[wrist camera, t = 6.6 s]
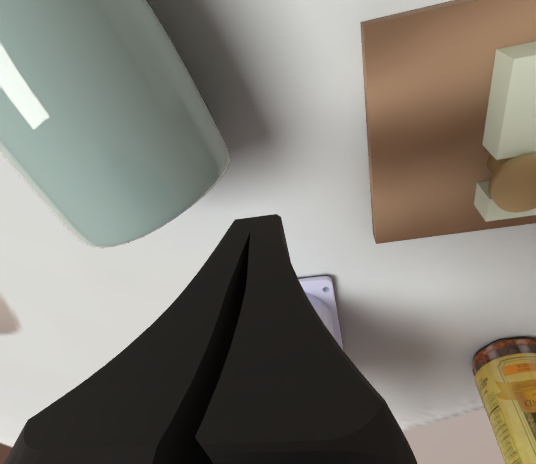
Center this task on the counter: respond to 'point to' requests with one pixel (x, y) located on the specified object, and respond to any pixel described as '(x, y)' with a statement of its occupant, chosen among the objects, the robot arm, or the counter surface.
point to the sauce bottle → (510, 396)
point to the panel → (509, 118)
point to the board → (440, 118)
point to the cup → (103, 117)
